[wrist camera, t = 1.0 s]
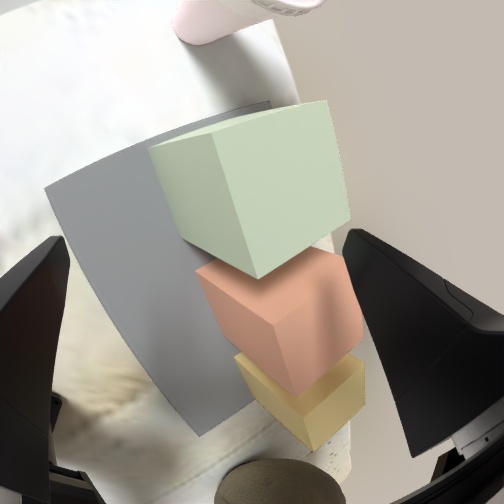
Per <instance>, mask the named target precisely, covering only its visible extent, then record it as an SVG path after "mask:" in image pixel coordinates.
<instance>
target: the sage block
mask: <svg viewBox="0 0 504 504" xmlns="http://www.w3.org/2000/svg"><path fill="white" fill-rule="evenodd" d="M147 149H148V151H149V154H150V157H151V160H152V163H153V165H154V168H155V171H156V174H157V176H158V179H159V182H160V184H161V187H162V190H163V192H164V195H165V198H166V200H167V203H168V206H169V208H170V211H171V213H172V216H173V218H174V221H175V223H176V226H177V229H178V231H179V234H180V236H181V238H183V239H185V240H187V241H188V242H190V243H192V244H194V245H196V246H197V247H199V248H201V249H203V250H205V251H206V252H208V253H210V254H212V255H214V256H216V257H217V258H219V259H221V260H223V261H225V262H227V263H228V264H230V265H232V266H234V267H236V268H238V269H239V270H241V271H243V272H245V273H247V274H249V275H251V276H252V277H254V278H256V279H260V278H261V277H263V276H264V275H266V274H268V273H269V272H271V271H272V270H274V269H275V268H277V267H278V266H280V265H282V264H283V263H285V262H286V261H288V260H289V259H291V258H292V257H294V256H295V255H297V254H299V253H300V252H302V251H303V250H305V249H306V248H308V247H309V246H311V245H312V244H314V243H315V242H317V241H318V240H320V239H321V238H323V237H324V236H326V235H327V234H329V233H330V232H332V231H333V230H335V229H336V228H338V227H339V226H341V225H342V224H344V223H345V222H347V221H348V220H350V219H351V217H350V210H349V204H348V198H347V192H346V186H345V180H344V175H343V170H342V165H341V160H340V155H339V150H338V146H337V141H336V136H335V131H334V127H333V123H332V119H331V114H330V110H329V106H328V102H327V100H323V101H315V102H309V103H303V104H297V105H292V106H286V107H281V108H276V109H271V110H266V111H261V112H257V113H252V114H248V115H243V116H239V117H235V118H231V119H228V120H225V121H221V122H218V123H215V124H212V125H209V126H206V127H203V128H200V129H197V130H195V131H192V132H189V133H186V134H183V135H181V136H178V137H175V138H173V139H170V140H167V141H165V142H162V143H160V144H157V145H155V146H152V147H150V148H147Z"/></svg>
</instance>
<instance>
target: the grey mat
mask: <svg viewBox="0 0 504 504" xmlns="http://www.w3.org/2000/svg"><path fill="white" fill-rule="evenodd" d="M266 110H271V105H270V102H269V101H266V102H262V103H258V104H254V105H250V106H246V107H243V108H239V109H236V110H232V111H229V112H225V113H222V114H219V115H216V116H212V117H209V118H206V119H203V120H200V121H197V122H194V123H191V124H188V125H185V126H182V127H179V128H177V129H174V130H171V131H168V132H166V133H163V134H160V135H158V136H155V137H153V138H150V139H147V140H145V141H142V142H140V143H138V144H135V145H133V146H130V147H128V148H126V149H123V150H121V151H119V152H116V153H114V154H112V155H110V156H107V157H105V158H103V159H101V160H99V161H97V162H94V163H92V164H90V165H88V166H86V167H84V168H82V169H80V170H78V171H76V172H74V173H72V174H70V175H68V176H66V177H64V178H62V179H60V180H58V181H57V182H55V183H53V184H51V185H49V186H47V187H46V188H44V189H45V192H46V194H47V197H48V199H49V201H50V204H51V206H52V209H53V211H54V213H55V215H56V218H57V220H58V222H59V224H60V226H61V229H62V231H63V233H64V235H65V237H66V239H67V241H68V243H69V245H70V247H71V249H72V251H73V253H74V255H75V257H76V259H77V261H78V263H79V265H80V267H81V269H82V271H83V272H84V274H85V276H86V278H87V280H88V282H89V283H90V285H91V287H92V289H93V290H94V292H95V294H96V296H97V297H98V299H99V301H100V302H101V304H102V306H103V307H104V309H105V311H106V312H107V314H108V316H109V317H110V319H111V320H112V322H113V324H114V325H115V327H116V328H117V330H118V331H119V333H120V334H121V336H122V338H123V339H124V341H125V342H126V344H127V345H128V347H129V348H130V349H131V351H132V352H133V354H134V355H135V357H136V358H137V360H138V361H139V362H140V364H141V365H142V367H143V368H144V369H145V371H146V372H147V373H148V375H149V376H150V377H151V379H152V380H153V381H154V383H155V384H156V385H157V387H158V388H159V389H160V391H161V392H162V393H163V394H164V396H165V397H166V398H167V400H168V401H169V402H170V403H171V405H172V406H173V407H174V408H175V409H176V411H177V412H178V413H179V414H180V415H181V417H182V418H183V419H184V420H185V421H186V423H187V424H188V425H189V426H190V427H191V428H192V429H193V431H194V432H195V433H196V434H197V435H198V436H199V437H200V436H202V435H203V434H205V433H206V432H208V431H209V430H211V429H213V428H214V427H216V426H217V425H219V424H220V423H222V422H223V421H225V420H226V419H228V418H229V417H231V416H232V415H233V414H235V413H236V412H238V411H239V410H241V409H242V408H244V407H245V406H246V405H248V404H249V403H251V402H252V401H253V400H255V398H254V397H253V395H252V393H251V391H250V389H249V387H248V385H247V383H246V381H245V379H244V377H243V375H242V373H241V371H240V369H239V367H238V365H237V363H236V361H235V359H234V357H235V356H236V355H238V354H239V353H241V351H240V350H239V349H238V348H237V347H236V346H235V345H234V344H232V343H231V342H230V341H229V340H228V339H227V338H226V337H225V336H224V335H223V333H222V331H221V329H220V327H219V324H218V322H217V320H216V318H215V316H214V313H213V311H212V309H211V307H210V304H209V302H208V300H207V298H206V295H205V293H204V291H203V288H202V286H201V284H200V282H199V279H198V277H197V275H196V272H195V271H196V270H197V269H199V268H201V267H203V266H204V265H206V264H208V263H210V262H211V261H213V260H215V259H217V257H216V256H214V255H212V254H210V253H208V252H206V251H205V250H203V249H201V248H199V247H197V246H196V245H194V244H192V243H190V242H188V241H187V240H185V239H183V238H181V236H180V234H179V231H178V229H177V226H176V223H175V221H174V218H173V216H172V213H171V211H170V208H169V206H168V203H167V200H166V198H165V195H164V192H163V190H162V187H161V184H160V182H159V179H158V176H157V174H156V171H155V168H154V165H153V163H152V160H151V157H150V154H149V151H148V149H147V148H150V147H152V146H155V145H157V144H160V143H162V142H165V141H167V140H170V139H173V138H175V137H178V136H181V135H183V134H186V133H189V132H192V131H195V130H197V129H200V128H203V127H206V126H209V125H212V124H215V123H218V122H221V121H225V120H228V119H231V118H235V117H239V116H243V115H248V114H252V113H257V112H261V111H266Z"/></svg>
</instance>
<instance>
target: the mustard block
mask: <svg viewBox="0 0 504 504" xmlns="http://www.w3.org/2000/svg"><path fill="white" fill-rule="evenodd" d="M234 359H235V361H236V363H237V365H238V367H239V369H240V371H241V373H242V375H243V377H244V379H245V381H246V383H247V385H248V387H249V389H250V391H251V393H252V395H253V397H254V398H255V399H256V400H257V401H258V402H259V403H260V404H261V405H262V406H263V407H264V408H265V409H266V410H267V411H268V412H269V413H271V414H272V415H273V416H274V417H275V418H276V419H277V420H278V421H279V422H280V423H281V424H282V425H284V426H285V427H286V428H287V429H288V430H289V431H290V432H291V433H293V434H294V435H295V436H296V437H297V438H298V439H299V440H300V441H302V442H303V443H304V444H305V445H306V446H307V447H309V448H310V449H311V450H312V451H313V452H315V451H316V450H317V449H318V448H319V447H320V446H322V445H323V444H324V443H325V442H326V441H327V440H328V439H330V438H331V437H332V436H333V435H334V434H335V433H336V432H337V431H338V430H339V429H341V428H342V427H343V426H344V425H345V424H346V423H347V422H348V421H349V420H350V419H351V418H352V417H353V416H354V415H355V414H356V413H357V412H358V411H359V410H360V409H361V408H362V407H363V406H364V405H365V369H364V362H363V361H361V360H359V359H358V358H356V357H354V356H353V355H351V354H349V353H347V354H346V355H345V356H344V357H343V358H342V359H341V360H340V361H339V362H338V363H336V364H335V365H334V366H333V367H332V368H331V369H330V370H329V371H327V372H326V373H325V374H324V375H323V376H322V377H321V378H319V379H318V380H317V381H316V382H315V383H314V384H312V385H311V386H310V387H309V388H308V389H307V390H305V391H304V392H303V393H302V394H300V395H299V396H298V397H297V398H296V397H295V396H293V395H292V394H291V393H290V392H288V391H287V390H286V389H285V388H284V387H282V386H281V385H280V384H279V383H278V382H276V381H275V380H274V379H273V378H272V377H270V376H269V375H268V374H267V373H266V372H264V371H263V370H262V369H261V368H260V367H259V366H257V365H256V364H255V363H254V362H253V361H252V360H250V359H249V358H248V357H247V356H246V355H245V354H244V353H243V352H241V353H239V354H238V355H236V356H235V357H234Z"/></svg>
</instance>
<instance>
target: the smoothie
mask: <svg viewBox="0 0 504 504" xmlns="http://www.w3.org/2000/svg"><path fill="white" fill-rule="evenodd" d="M325 1H326V0H181V2H180V4H179V5H178V7H177V9H176V11H175V12H174V14H173V17H172V28H173V30H174V32H175V34H176V35H177V36H178V37H179V38H180V39H181V40H183V41H184V42H186V43H189V44H192V45H205V44H208V43H210V42H212V41H215V40H217V39H219V38H222V37H224V36H226V35H229V34H231V33H234V32H236V31H239V30H241V29H244V28H246V27H249V26H252V25H254V24H257V23H260V22H263V21H266V20H269V19H272V18H275V17H278V16H281V15H285V16H298V15H302V14H306V13H308V12H309V11H310V10H312V9H315V8H317V7H319V6H321V5H322V4H323V3H324V2H325Z"/></svg>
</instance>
